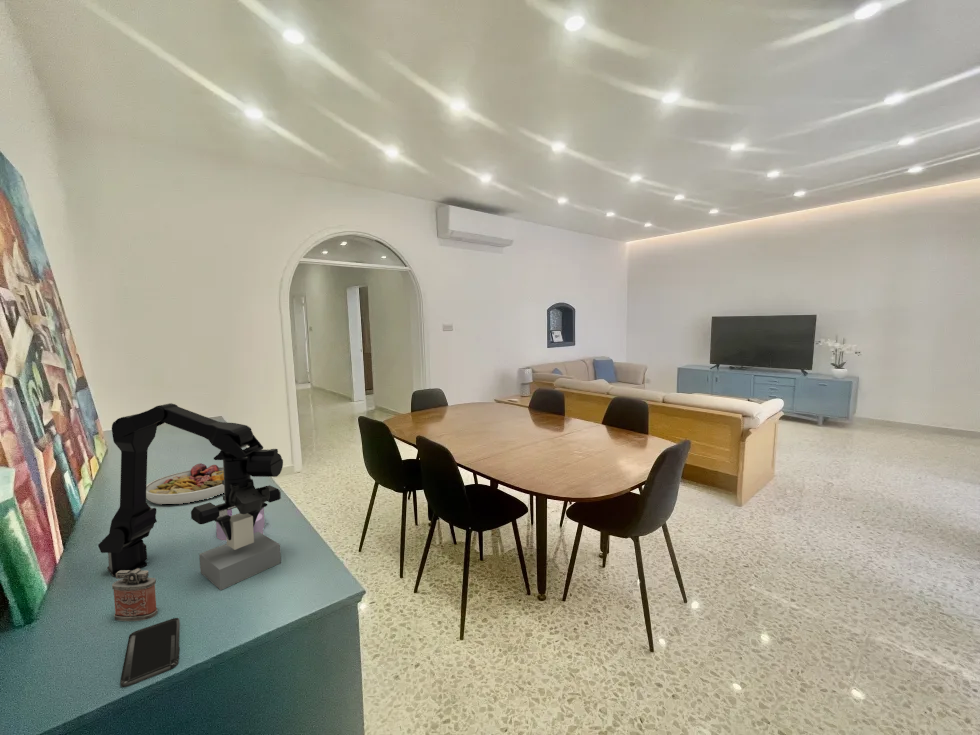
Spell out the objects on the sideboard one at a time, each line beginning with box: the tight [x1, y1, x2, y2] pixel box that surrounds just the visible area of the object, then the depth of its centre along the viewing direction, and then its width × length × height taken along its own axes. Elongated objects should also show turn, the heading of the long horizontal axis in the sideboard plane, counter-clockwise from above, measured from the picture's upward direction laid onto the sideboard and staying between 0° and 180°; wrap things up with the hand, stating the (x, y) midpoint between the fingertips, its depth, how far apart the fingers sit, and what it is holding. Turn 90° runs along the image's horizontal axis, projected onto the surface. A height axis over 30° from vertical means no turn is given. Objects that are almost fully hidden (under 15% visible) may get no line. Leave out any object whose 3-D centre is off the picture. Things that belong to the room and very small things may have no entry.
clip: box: [215, 507, 266, 542], centre depth 120 cm, size 20×12×7 cm, turn 41°
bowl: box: [146, 463, 225, 505], centre depth 153 cm, size 30×30×8 cm
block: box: [226, 512, 254, 550], centre depth 101 cm, size 4×4×7 cm
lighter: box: [111, 568, 159, 622], centre depth 84 cm, size 8×3×10 cm, turn 92°
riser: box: [199, 532, 282, 591], centre depth 102 cm, size 14×12×5 cm
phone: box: [119, 617, 181, 688], centre depth 75 cm, size 8×1×15 cm
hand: (239, 535), depth 102 cm, fingers closed on block, 4 cm apart
